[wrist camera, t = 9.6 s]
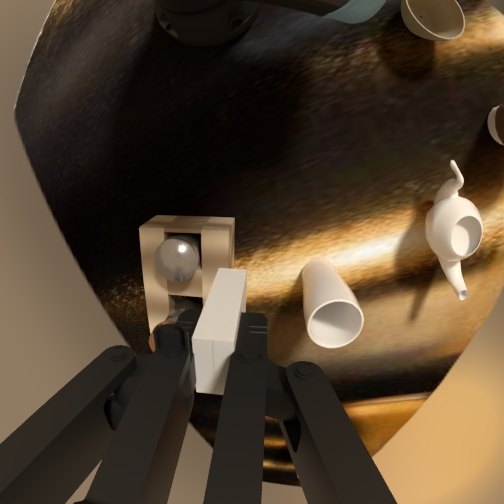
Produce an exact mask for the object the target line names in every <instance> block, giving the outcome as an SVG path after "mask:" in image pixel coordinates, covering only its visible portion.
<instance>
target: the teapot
mask: <svg viewBox="0 0 504 504" xmlns="http://www.w3.org/2000/svg"><path fill="white" fill-rule="evenodd" d="M450 166H451V168H452V170H453V171H454V172H455V174H456V177H457V179H450V180H448V181H446V182H445V183H444V184H443V185H442V186H441V187H440V189H439V190H438V192H437V194H436V197H435V201H434V205H433V206H432V207H431V208H430V209H429V211H428V213H427V215H426V221H425V235H426V239H427V242H428V244H429V246H430V248H431V250H432V251H433V252H434V253H435V254H436V255H437V257H438V259H439V262H440V264H441V267H442V269H443V271H444V273H445V275H446V277H447V279H448V281H449V283H450V284H451V286H452V288H453V289H454V291H455V293H456V295H457V296H458V298H459V299H460V300H464V299H465V298H466V297H467V295H468V291H467V288H466V286H465V283H464V280H463V277H462V273H461V265H460V260H462V259H465V258H467V257H469V256H470V255H472V254H473V253H474V252H475V251H476V250H477V248H478V247H479V245H480V243H481V240H482V235H483V225H482V220H481V217H480V214H479V211H478V209H477V208H476V206H475V205H474V204H473V203H472V202H471V201H469V200H468V199H466V198H463V197H460V196H458V190H459V189H460V188H461V187H462V186H463V184H464V178H463V176H462V174H461V173H460V171H459V169H458V167H457V165H456V163H455V161H453V160H452V161H451V162H450Z"/></svg>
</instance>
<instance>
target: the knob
mask: <svg viewBox="0 0 504 504" xmlns="http://www.w3.org/2000/svg"><path fill="white" fill-rule="evenodd" d="M201 250H202V248H201V233H179V234H178V235H177V236H172V237H169V238H167V239H166V240H164V241H163V242H162V243H161V244H160V245H159V246H158V248H157V249H156V252H155V256H154V261H155V265H156V268H157V270H158V271H159V273H160V274H161V275H162V276H164V277H165V278H167V279H168V280H171V281H175V282H181V281H185V280H187V279H189V278H190V277H191V276H192V275H193V274H194V273H195V271H196V269H197V267H198V265H199V260H200V258H199V253H200V252H201Z"/></svg>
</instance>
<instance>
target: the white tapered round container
mask: <svg viewBox="0 0 504 504" xmlns="http://www.w3.org/2000/svg"><path fill="white" fill-rule="evenodd" d="M401 15H402V19H403V22H404V24H405V25H406V27H407V28H408V29H409V30H410V31H411V32H412V33H414V34H415V35H417V36H419V37H422V38H425V39H429V40H435V41H446V40H452V39H456V38H458V37H459V36H461V34H462V33H463V31H464V28H465V19H464V15H463V12H462V9H461V8H460V6H459V4H458V3H457V1H456V0H402V1H401ZM420 16H421V17H420Z"/></svg>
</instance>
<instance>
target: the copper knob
mask: <svg viewBox="0 0 504 504" xmlns="http://www.w3.org/2000/svg"><path fill="white" fill-rule="evenodd" d="M186 309H194V310H199V308H198V306H197V305H196V304H195V303H194V302H193V301H191V300H188V299H180V300H178V301H176V302H175V303H174V305H173V307H172V309H171V310H170V312H169V314H168V316H167V318H166V319H165V321H163V322H161V323H159V324H157V325H156V326H155V328H156V327H158V326H160V325H164V324H175V323H176V322H177V319H178V317H179V315H180V314H181V313H182V312H183V311H185V310H186ZM155 328H154V329H155ZM154 329H153V330H154ZM149 344H150V347H151V349H152V351H153V352H154V351H155V343H154V336H153V331H152V333H151V335H150V337H149Z"/></svg>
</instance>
